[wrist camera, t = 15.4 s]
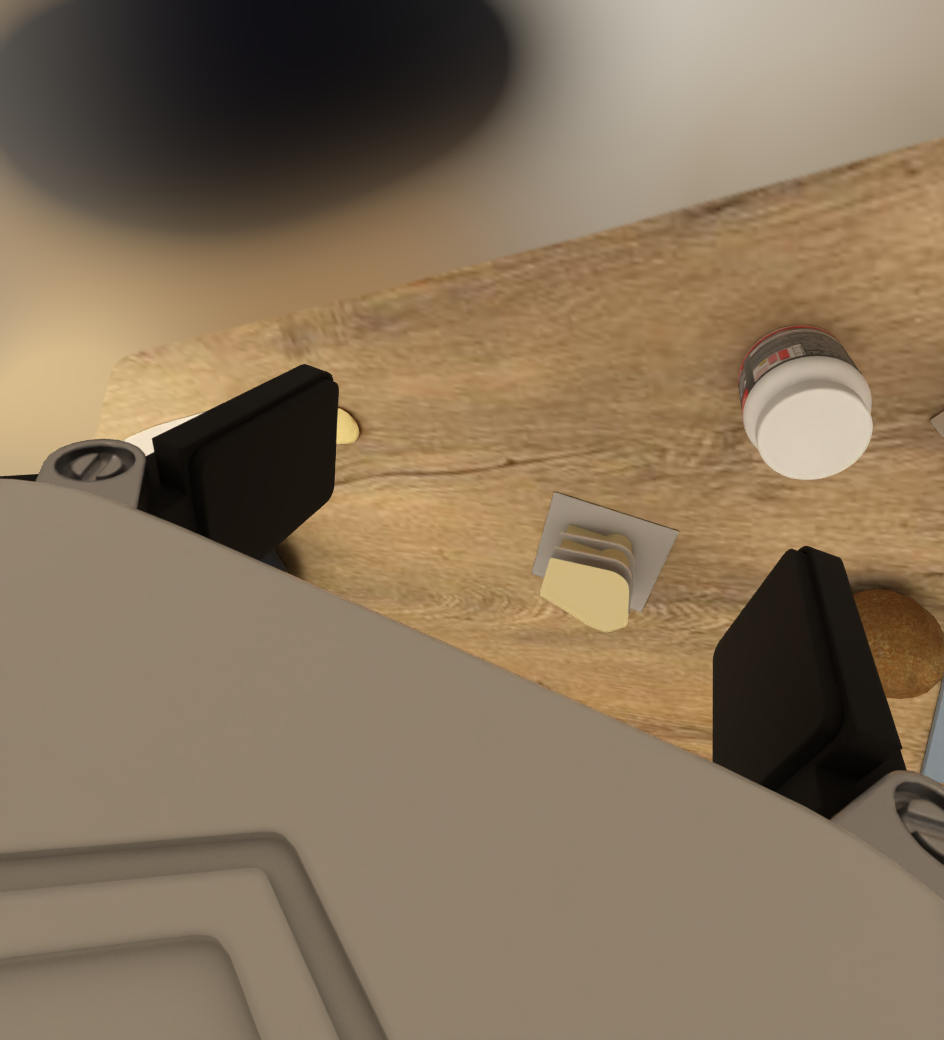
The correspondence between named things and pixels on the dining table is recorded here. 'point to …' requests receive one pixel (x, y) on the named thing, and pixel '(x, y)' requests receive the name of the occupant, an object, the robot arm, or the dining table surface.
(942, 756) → the towel
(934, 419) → the milk carton
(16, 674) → the robot arm
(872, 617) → the fruit
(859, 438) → the pill bottle
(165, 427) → the knife
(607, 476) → the dining table surface
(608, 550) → the stacked layers on plate
